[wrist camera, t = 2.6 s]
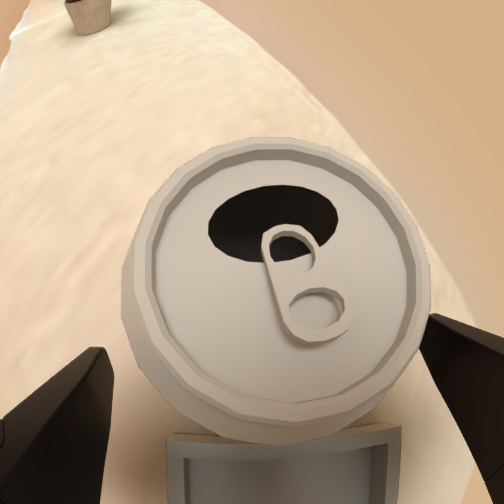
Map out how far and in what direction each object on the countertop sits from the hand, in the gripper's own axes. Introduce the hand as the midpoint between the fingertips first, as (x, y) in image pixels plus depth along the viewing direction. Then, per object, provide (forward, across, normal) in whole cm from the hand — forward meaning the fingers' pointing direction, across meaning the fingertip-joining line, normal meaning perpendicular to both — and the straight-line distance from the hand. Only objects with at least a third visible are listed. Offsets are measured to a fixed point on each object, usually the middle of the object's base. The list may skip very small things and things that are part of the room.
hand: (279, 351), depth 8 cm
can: (+8, 0, +6) cm, 9 cm away
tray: (-1, -1, +13) cm, 13 cm away
